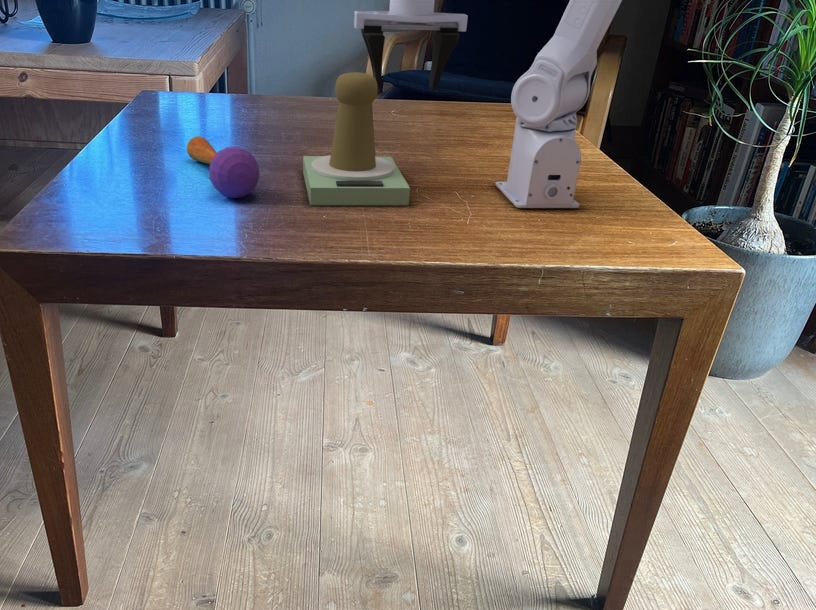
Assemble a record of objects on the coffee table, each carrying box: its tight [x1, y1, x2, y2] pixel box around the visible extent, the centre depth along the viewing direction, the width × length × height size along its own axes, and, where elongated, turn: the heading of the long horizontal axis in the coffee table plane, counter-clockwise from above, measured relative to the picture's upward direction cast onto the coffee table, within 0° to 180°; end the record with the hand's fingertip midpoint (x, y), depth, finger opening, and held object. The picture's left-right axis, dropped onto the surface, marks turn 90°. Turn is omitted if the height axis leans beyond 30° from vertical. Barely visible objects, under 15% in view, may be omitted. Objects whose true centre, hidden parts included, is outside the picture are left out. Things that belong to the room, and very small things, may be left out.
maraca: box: [186, 136, 260, 199], centre depth 94 cm, size 6×6×20 cm
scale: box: [302, 154, 411, 206], centre depth 94 cm, size 14×12×3 cm
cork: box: [329, 71, 379, 171], centre depth 91 cm, size 6×6×11 cm
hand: (405, 88), depth 99 cm, fingers open, 7 cm apart
